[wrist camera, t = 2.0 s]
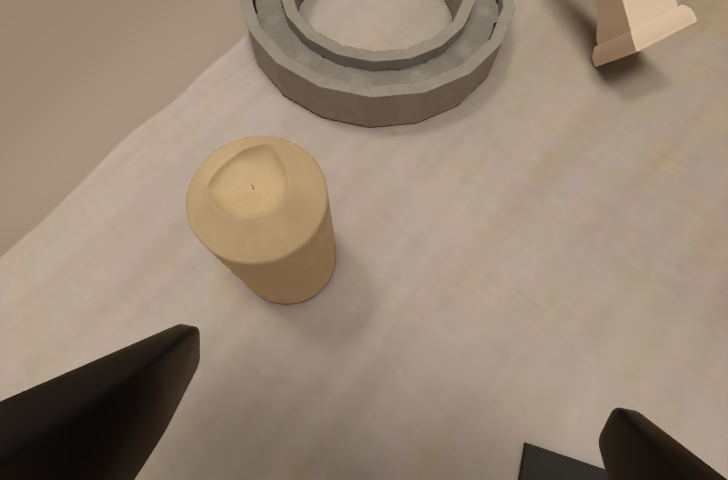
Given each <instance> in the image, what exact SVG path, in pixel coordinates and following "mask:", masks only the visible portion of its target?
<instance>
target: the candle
mask: <svg viewBox="0 0 728 480" xmlns="http://www.w3.org/2000/svg"><path fill="white" fill-rule="evenodd" d="M186 210H187V216H188V221H189V223H190V226H191V228H192V230H193V232H194V234H195V236H196V237H197V238H198V239H199V241H200V242H201V243H202V244H203V245H204V246H205V247H206V248H207V249H208V250H209V251H210V252H211V253H213V254H214V255H215V256H216V257H217V258H218V259H219V260H220V261H221V262H222V263H223V264H224V265H226V266H227V267H228V268H229V269H230V270H231V271H232V272H233V273H234V274H235V275H236V276H237V277H239V278H240V279H241V280H242V281H243V282H244V283H245V284H246V285H247V286H248V287H249V288H250V289H252V290H253V291H254V292H255V293H256V294H258V295H259V296H261V297H262V298H264V299H266V300H269V301H271V302H275V303H281V304H293V303H298V302H302V301H305V300H307V299H309V298H311V297H313V296H314V295H316V294H317V293H318V292H319V291H321V290H322V289H323V287H324V286H325V285H326V284H327V282H328V281H329V279H330V277H331V275H332V273H333V270H334V267H335V263H336V247H335V240H334V233H333V226H332V219H331V212H330V205H329V198H328V191H327V185H326V180H325V177H324V174H323V172H322V170H321V168H320V166H319V165H318V163H317V162H316V161H315V159H314V158H313V157H312V156H311V155H310V154H309V153H308V152H307V151H305V150H304V149H303V148H301V147H300V146H298V145H296V144H294V143H292V142H290V141H287V140H284V139H281V138H276V137H269V136H254V137H247V138H243V139H239V140H236V141H234V142H231V143H229V144H227V145H225V146H223V147H221V148H219V149H218V150H216V151H215V152H214V153H212V154H211V155H210V156H209V157H208V158H207V159H206V160H205V161H204V162H203V163H202V164H201V165H200V167H199V168H198V169H197V171H196V173H195V174H194V176H193V178H192V180H191V183H190V185H189V189H188V193H187V200H186Z"/></svg>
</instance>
